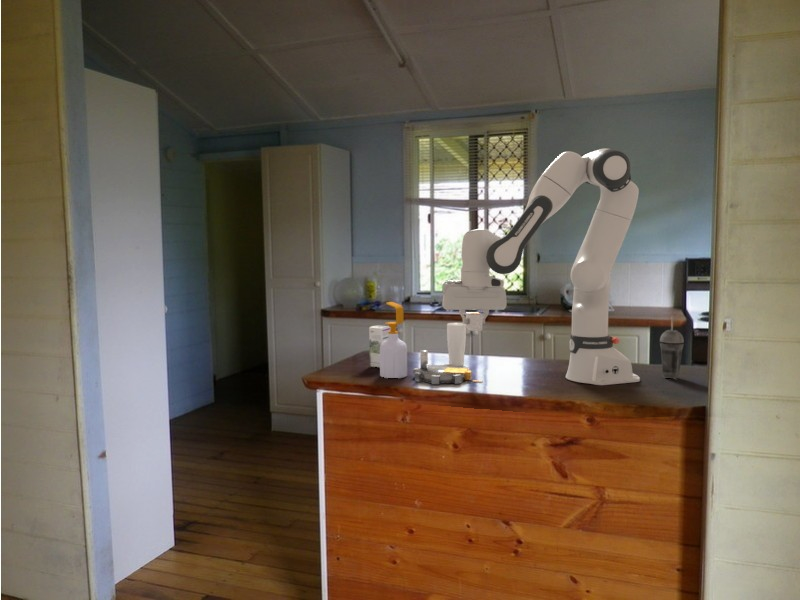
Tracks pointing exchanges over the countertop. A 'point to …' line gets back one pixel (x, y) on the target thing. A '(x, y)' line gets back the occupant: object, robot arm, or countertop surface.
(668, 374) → the beverage cup
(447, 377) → the sprocket
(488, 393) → the countertop surface
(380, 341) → the syrup box
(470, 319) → the marked link
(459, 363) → the drinking glass
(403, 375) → the soap bottle
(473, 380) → the timing mark
